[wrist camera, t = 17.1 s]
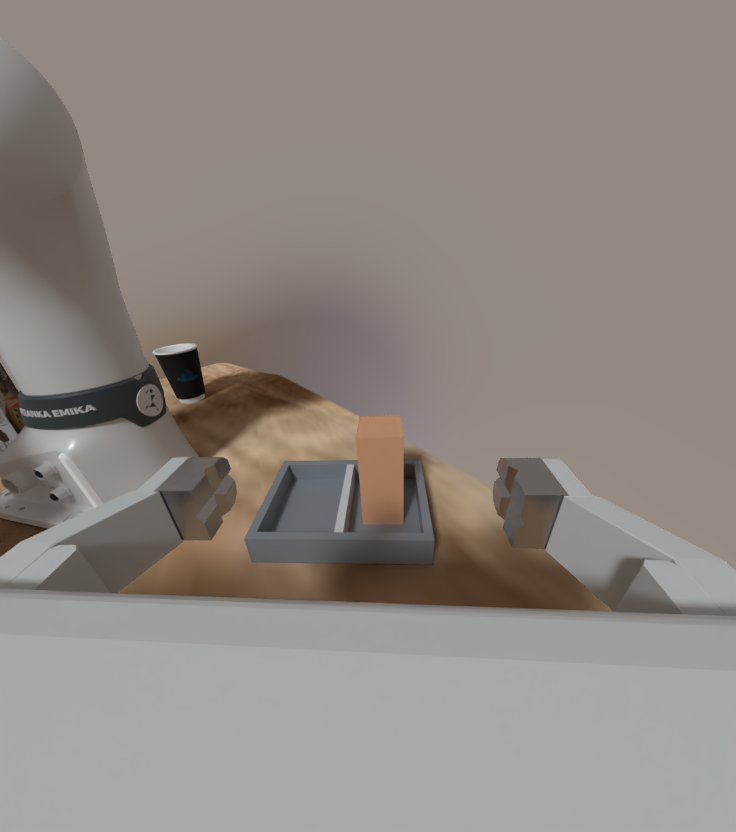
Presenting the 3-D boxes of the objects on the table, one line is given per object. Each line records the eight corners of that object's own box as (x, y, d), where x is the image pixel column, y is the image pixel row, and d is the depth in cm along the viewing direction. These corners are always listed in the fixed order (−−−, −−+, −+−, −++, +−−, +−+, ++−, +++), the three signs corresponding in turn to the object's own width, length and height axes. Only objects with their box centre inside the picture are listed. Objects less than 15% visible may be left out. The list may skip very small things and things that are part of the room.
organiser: (252, 562, 28) (244, 538, 26) (288, 480, 38) (284, 461, 37) (432, 564, 26) (434, 540, 25) (419, 479, 37) (420, 459, 35)
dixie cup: (194, 407, 60) (175, 353, 55) (162, 405, 62) (142, 353, 57) (220, 392, 67) (206, 343, 62) (191, 391, 69) (175, 343, 64)
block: (363, 524, 30) (355, 438, 25) (365, 496, 33) (359, 416, 29) (403, 524, 30) (403, 437, 25) (401, 496, 33) (401, 415, 29)
